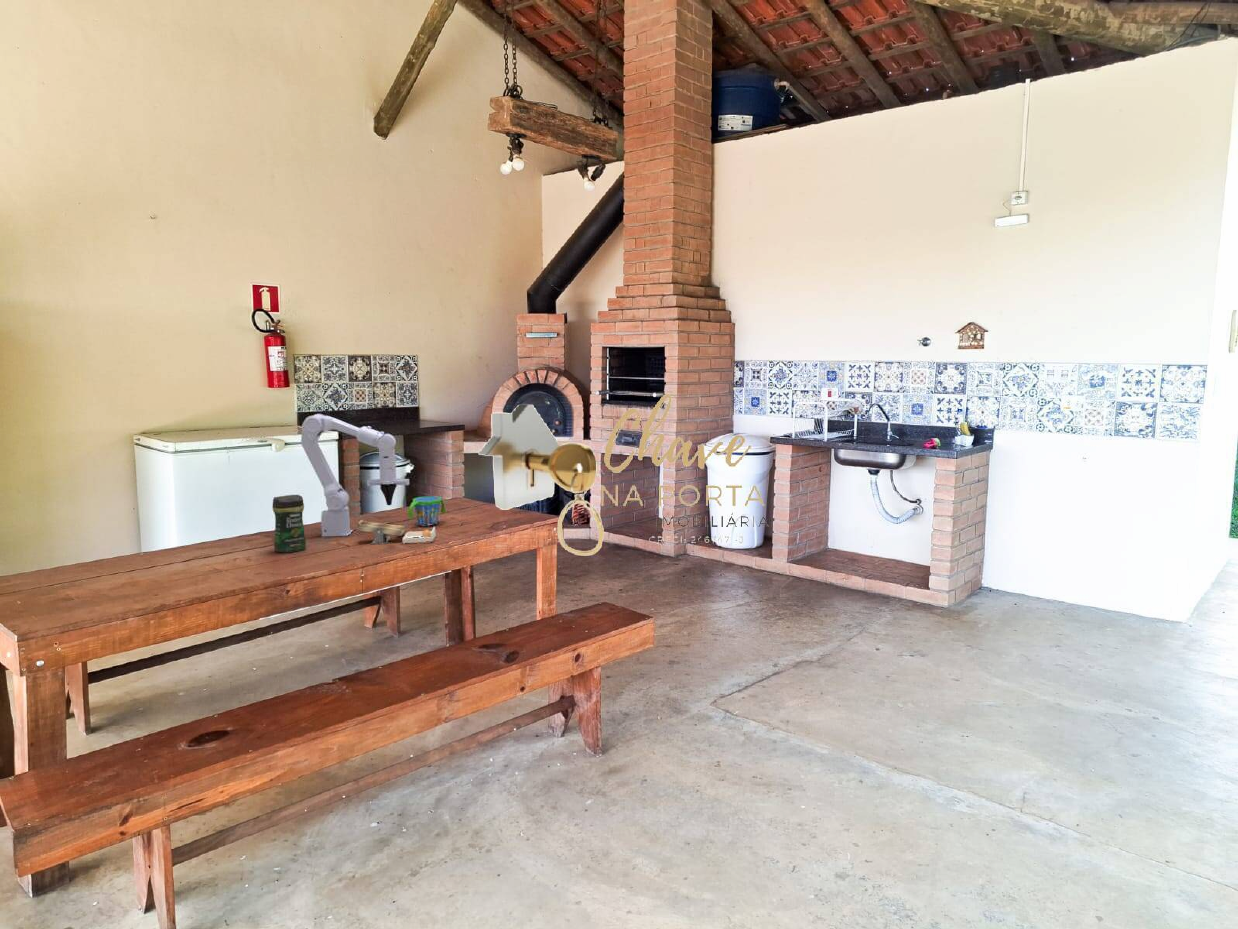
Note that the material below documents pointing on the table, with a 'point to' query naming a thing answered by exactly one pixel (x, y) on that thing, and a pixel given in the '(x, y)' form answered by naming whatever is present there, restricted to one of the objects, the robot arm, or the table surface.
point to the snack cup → (426, 509)
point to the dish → (409, 536)
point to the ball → (426, 533)
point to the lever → (386, 528)
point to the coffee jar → (289, 523)
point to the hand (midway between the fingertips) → (389, 504)
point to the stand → (380, 537)
